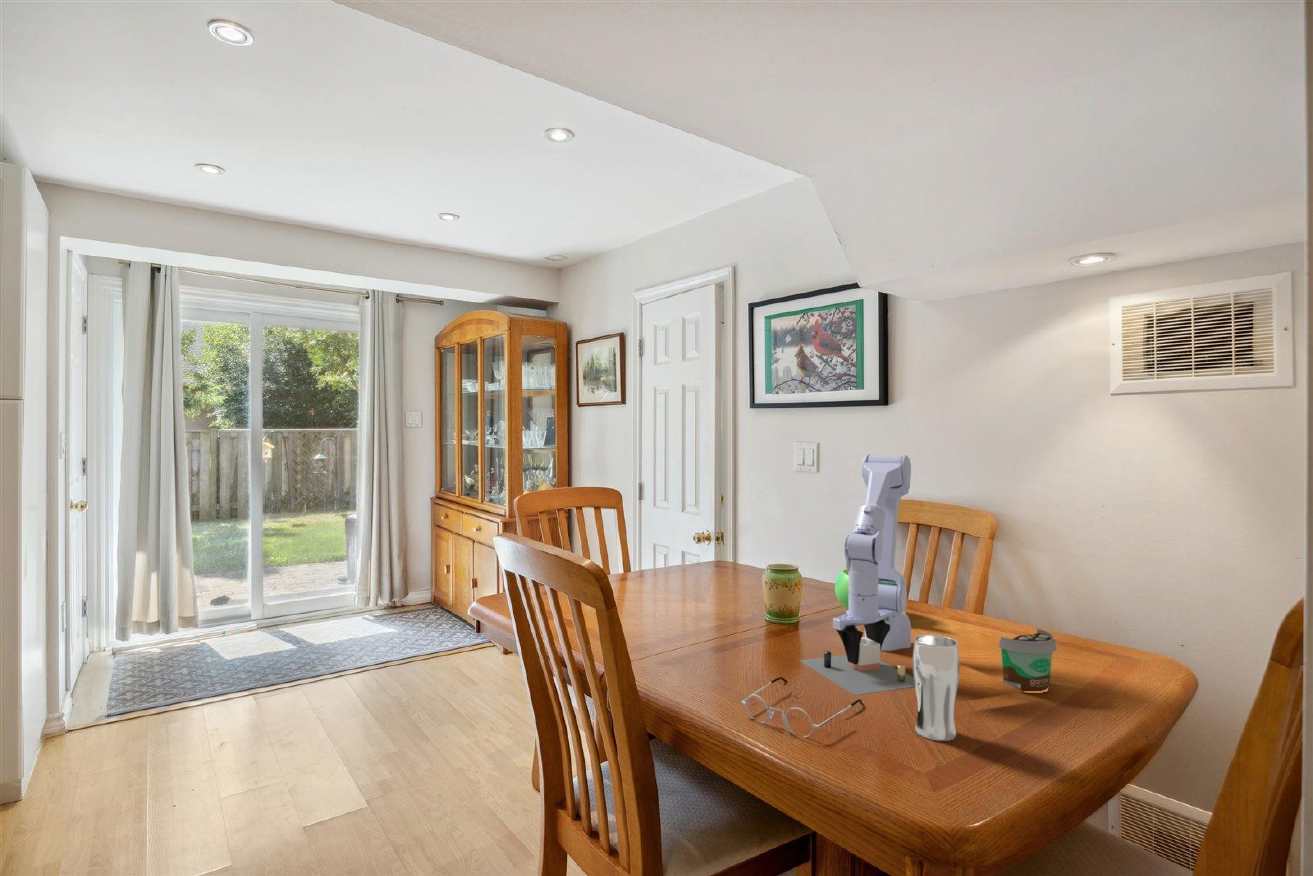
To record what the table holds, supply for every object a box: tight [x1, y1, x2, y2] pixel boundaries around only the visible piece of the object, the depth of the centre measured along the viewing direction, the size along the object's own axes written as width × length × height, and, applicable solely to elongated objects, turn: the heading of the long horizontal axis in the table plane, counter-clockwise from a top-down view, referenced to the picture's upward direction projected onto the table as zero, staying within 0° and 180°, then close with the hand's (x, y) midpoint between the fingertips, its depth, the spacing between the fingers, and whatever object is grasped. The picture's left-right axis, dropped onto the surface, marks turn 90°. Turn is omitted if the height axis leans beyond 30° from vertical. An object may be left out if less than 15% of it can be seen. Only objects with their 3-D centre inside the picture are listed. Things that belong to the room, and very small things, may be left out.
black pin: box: [823, 650, 832, 668], centre depth 131 cm, size 1×1×3 cm
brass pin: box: [896, 663, 906, 682], centre depth 123 cm, size 1×1×3 cm
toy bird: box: [834, 567, 908, 610], centre depth 174 cm, size 18×17×15 cm
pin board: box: [798, 654, 915, 696], centre depth 128 cm, size 16×19×2 cm
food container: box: [998, 628, 1057, 692], centre depth 123 cm, size 12×6×10 cm, turn 117°
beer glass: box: [911, 633, 960, 742], centre depth 105 cm, size 7×7×15 cm
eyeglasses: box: [741, 676, 863, 738], centre depth 113 cm, size 16×19×5 cm
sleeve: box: [847, 636, 881, 671], centre depth 131 cm, size 5×5×5 cm
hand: (863, 660), depth 131 cm, fingers closed on sleeve, 5 cm apart
